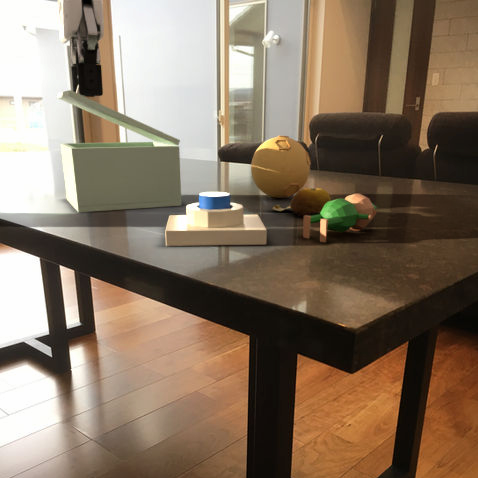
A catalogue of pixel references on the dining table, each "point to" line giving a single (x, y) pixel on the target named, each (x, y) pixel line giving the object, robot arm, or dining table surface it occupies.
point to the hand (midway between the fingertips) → (87, 94)
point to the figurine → (342, 215)
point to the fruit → (307, 202)
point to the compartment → (121, 175)
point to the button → (214, 200)
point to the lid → (115, 117)
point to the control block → (215, 227)
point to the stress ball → (280, 167)
